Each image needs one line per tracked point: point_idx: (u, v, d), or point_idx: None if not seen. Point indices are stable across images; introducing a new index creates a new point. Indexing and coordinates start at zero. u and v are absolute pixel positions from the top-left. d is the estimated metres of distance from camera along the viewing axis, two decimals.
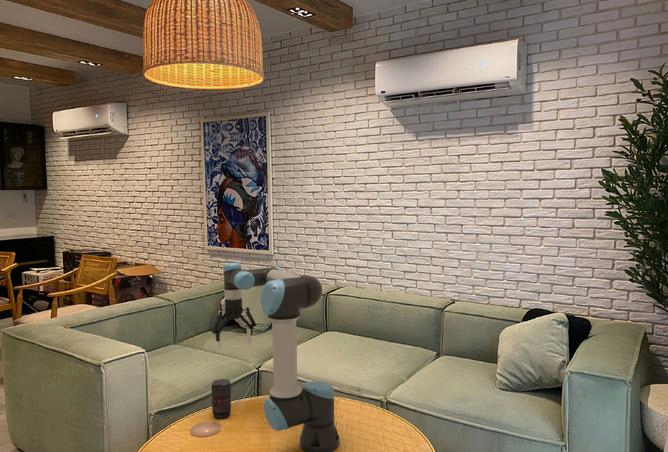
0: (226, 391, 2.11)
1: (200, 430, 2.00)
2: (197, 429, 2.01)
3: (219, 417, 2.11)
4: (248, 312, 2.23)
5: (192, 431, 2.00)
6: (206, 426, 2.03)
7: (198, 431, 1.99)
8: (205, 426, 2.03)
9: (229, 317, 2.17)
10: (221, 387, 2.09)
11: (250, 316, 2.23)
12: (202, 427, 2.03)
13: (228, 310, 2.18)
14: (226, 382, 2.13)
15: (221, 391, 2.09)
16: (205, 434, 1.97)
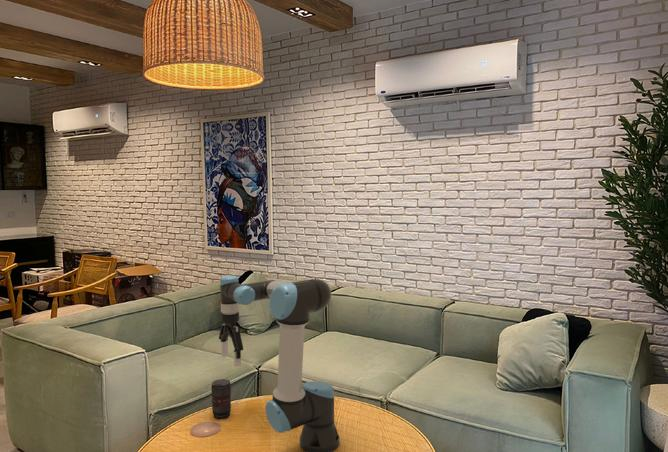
0: (226, 391, 2.11)
1: (200, 430, 2.00)
2: (197, 429, 2.01)
3: (219, 417, 2.11)
4: (233, 332, 2.07)
5: (192, 431, 2.00)
6: (206, 426, 2.03)
7: (198, 431, 1.99)
8: (205, 426, 2.03)
9: (224, 329, 2.14)
10: (221, 387, 2.09)
11: (235, 338, 2.06)
12: (202, 427, 2.03)
13: (225, 322, 2.14)
14: (226, 382, 2.13)
15: (221, 391, 2.09)
16: (205, 434, 1.97)
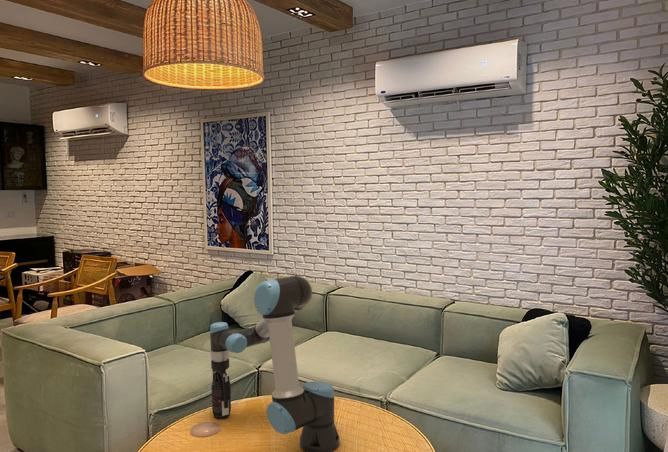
0: None
1: (200, 430, 2.00)
2: (197, 429, 2.01)
3: (219, 417, 2.11)
4: (223, 382, 2.07)
5: (192, 431, 2.00)
6: (206, 426, 2.03)
7: (198, 431, 1.99)
8: (205, 426, 2.03)
9: (215, 377, 2.14)
10: None
11: (223, 387, 2.07)
12: (202, 427, 2.03)
13: None
14: None
15: (221, 391, 2.09)
16: (205, 434, 1.97)
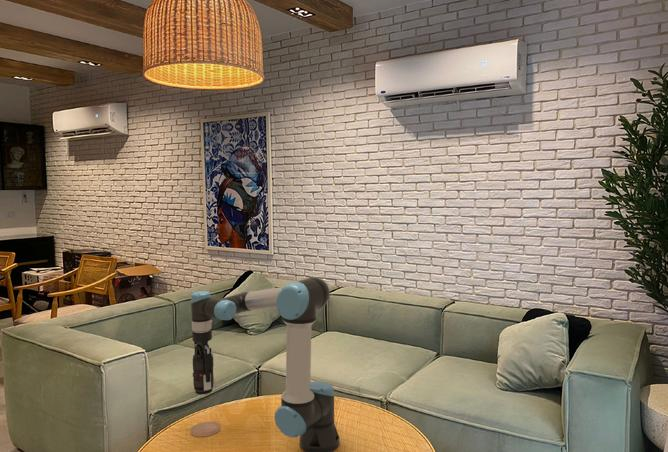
0: None
1: (200, 430, 2.00)
2: (197, 429, 2.01)
3: (201, 392, 1.97)
4: (204, 354, 1.94)
5: (192, 431, 2.00)
6: (206, 426, 2.03)
7: (198, 431, 1.99)
8: (205, 426, 2.03)
9: (196, 349, 2.01)
10: None
11: (205, 360, 1.94)
12: (202, 427, 2.03)
13: None
14: None
15: (202, 364, 1.96)
16: (205, 434, 1.97)
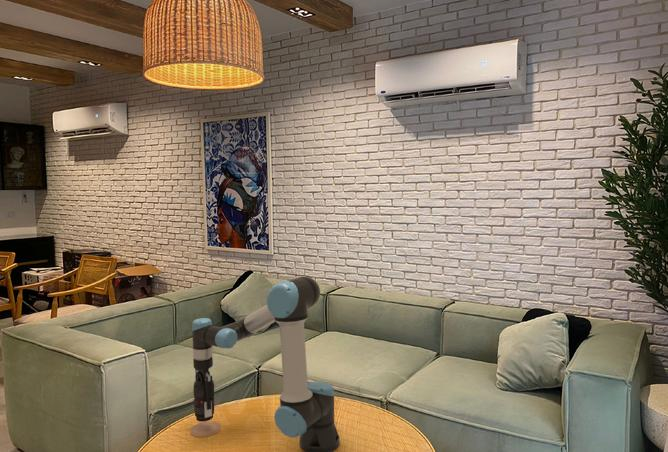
0: None
1: (200, 430, 2.00)
2: (197, 429, 2.01)
3: (201, 419, 1.98)
4: (205, 382, 1.95)
5: (192, 431, 2.00)
6: (206, 426, 2.03)
7: (198, 431, 1.99)
8: (205, 426, 2.03)
9: (197, 376, 2.01)
10: (203, 387, 1.97)
11: (206, 387, 1.95)
12: (202, 427, 2.03)
13: None
14: None
15: (203, 391, 1.97)
16: (205, 434, 1.97)
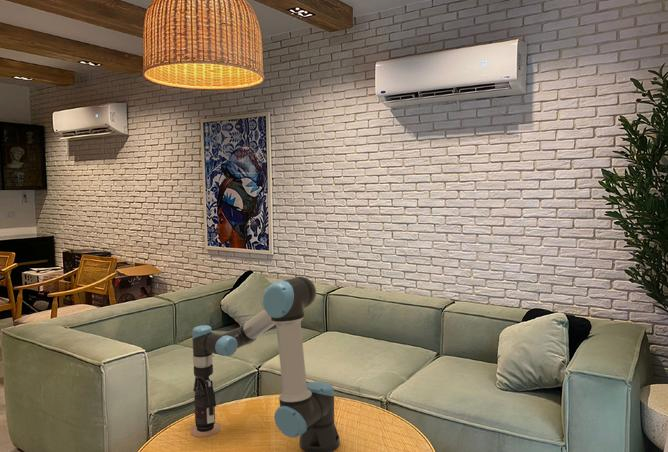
0: None
1: None
2: None
3: (202, 429, 1.98)
4: (206, 387, 1.95)
5: (192, 431, 2.00)
6: None
7: (198, 431, 1.99)
8: None
9: (197, 382, 2.02)
10: (204, 397, 1.97)
11: (207, 393, 1.94)
12: None
13: None
14: None
15: (204, 402, 1.97)
16: (205, 434, 1.97)
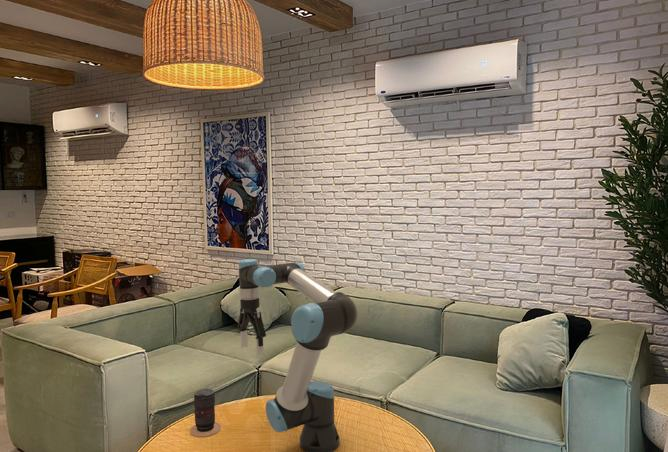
0: (210, 401, 1.98)
1: None
2: None
3: (202, 429, 1.98)
4: (255, 318, 1.94)
5: (192, 431, 2.00)
6: None
7: (198, 431, 1.99)
8: None
9: (243, 317, 2.01)
10: (204, 397, 1.97)
11: (256, 324, 1.93)
12: None
13: (244, 309, 2.01)
14: (210, 392, 2.01)
15: (204, 402, 1.97)
16: (205, 434, 1.97)
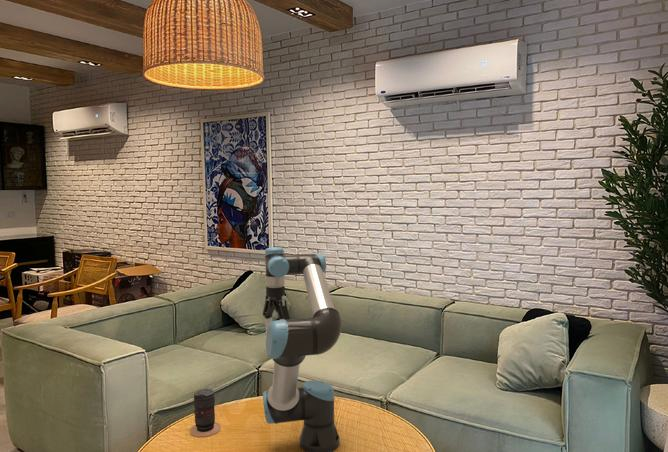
0: (210, 401, 1.98)
1: None
2: None
3: (202, 429, 1.98)
4: (280, 306, 1.95)
5: (192, 431, 2.00)
6: None
7: (198, 431, 1.99)
8: None
9: (269, 304, 2.02)
10: (204, 398, 1.97)
11: (281, 312, 1.94)
12: None
13: (270, 297, 2.02)
14: (209, 392, 2.01)
15: (204, 402, 1.97)
16: (205, 434, 1.97)
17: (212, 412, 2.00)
